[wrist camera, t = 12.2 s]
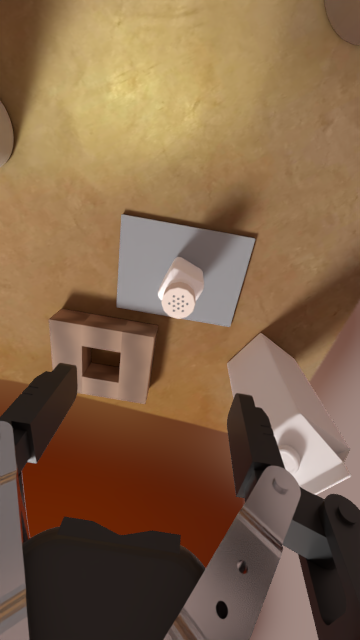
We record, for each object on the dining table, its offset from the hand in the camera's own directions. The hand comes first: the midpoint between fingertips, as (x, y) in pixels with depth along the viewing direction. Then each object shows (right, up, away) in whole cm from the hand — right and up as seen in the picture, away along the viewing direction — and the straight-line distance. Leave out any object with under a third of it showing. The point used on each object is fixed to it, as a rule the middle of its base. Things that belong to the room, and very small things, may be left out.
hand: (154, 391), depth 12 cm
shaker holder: (-10, -1, +26) cm, 28 cm away
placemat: (+1, +10, +20) cm, 22 cm away
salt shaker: (+2, +9, +19) cm, 22 cm away
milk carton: (+13, -2, +25) cm, 29 cm away
